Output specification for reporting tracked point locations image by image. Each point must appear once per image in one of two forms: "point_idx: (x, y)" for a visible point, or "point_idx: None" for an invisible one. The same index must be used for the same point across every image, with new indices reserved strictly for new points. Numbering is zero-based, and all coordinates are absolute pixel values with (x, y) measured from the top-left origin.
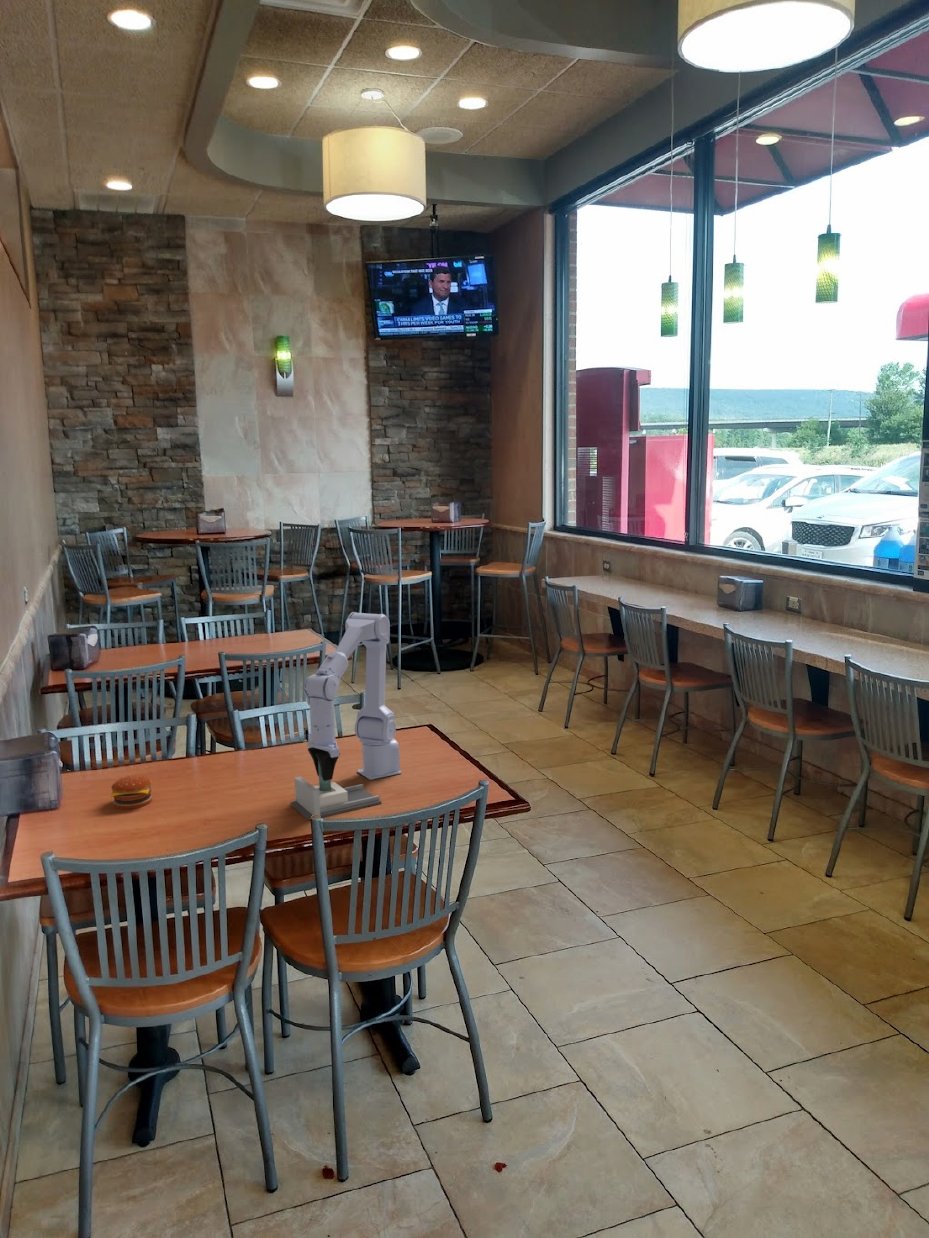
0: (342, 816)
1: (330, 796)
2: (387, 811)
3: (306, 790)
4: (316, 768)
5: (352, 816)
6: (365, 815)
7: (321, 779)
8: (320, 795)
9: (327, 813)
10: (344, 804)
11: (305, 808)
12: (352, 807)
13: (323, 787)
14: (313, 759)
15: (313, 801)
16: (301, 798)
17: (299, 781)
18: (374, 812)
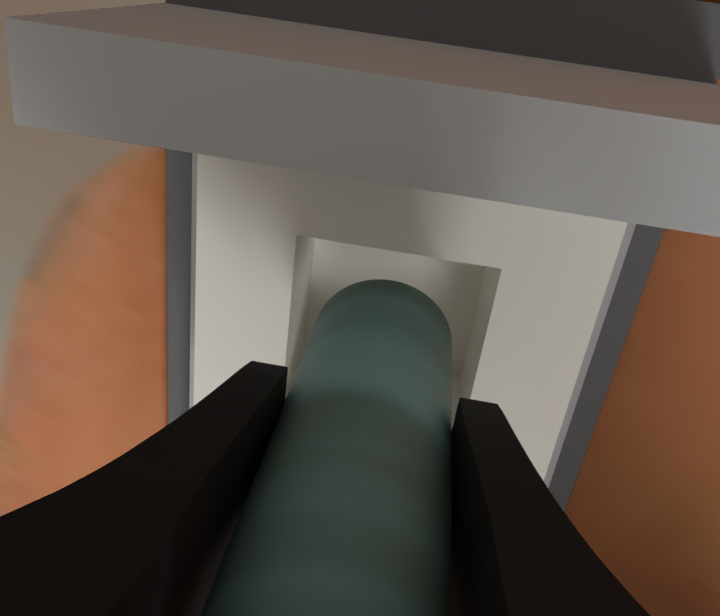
0: (100, 237)
1: (201, 284)
2: (27, 500)
3: (321, 57)
4: (483, 466)
5: (59, 294)
6: (30, 370)
7: (324, 361)
8: (258, 205)
9: (171, 153)
10: (190, 346)
11: (417, 40)
12: (175, 377)
13: (326, 317)
14: (577, 600)
15: (94, 12)
16: (537, 66)
17: (628, 110)
18: (53, 440)
